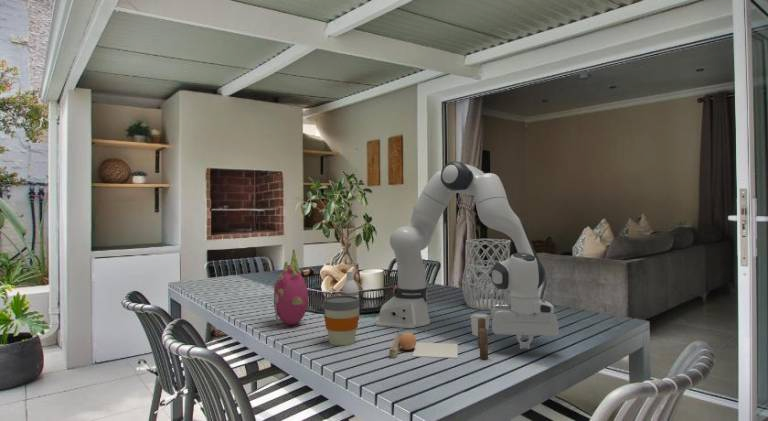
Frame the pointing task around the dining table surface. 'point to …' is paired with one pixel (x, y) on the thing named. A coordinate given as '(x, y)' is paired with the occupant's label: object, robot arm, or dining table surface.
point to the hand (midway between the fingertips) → (524, 348)
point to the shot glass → (475, 322)
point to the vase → (483, 276)
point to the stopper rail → (395, 346)
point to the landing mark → (436, 350)
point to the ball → (407, 341)
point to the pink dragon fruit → (290, 294)
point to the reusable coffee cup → (341, 319)
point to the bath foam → (350, 286)
